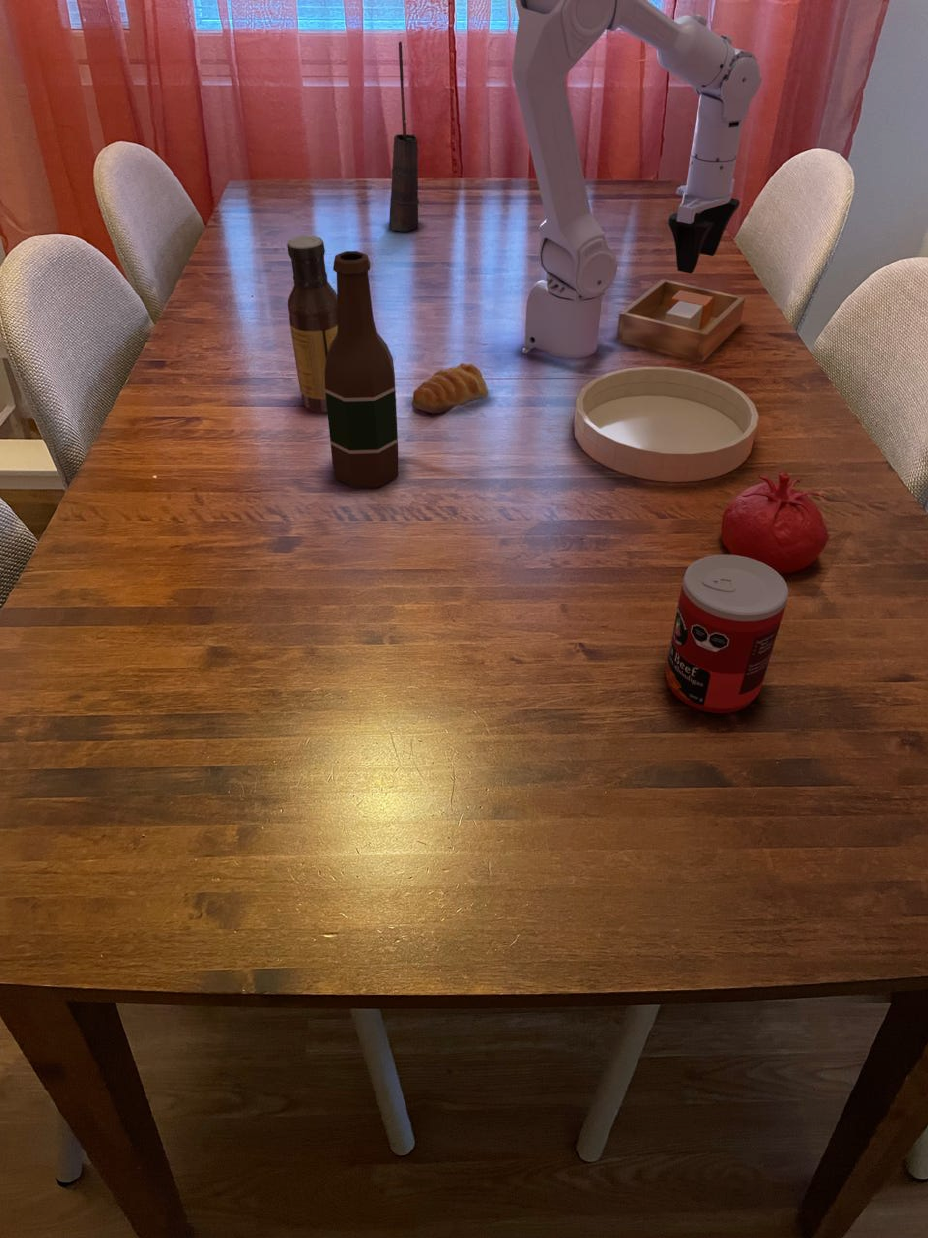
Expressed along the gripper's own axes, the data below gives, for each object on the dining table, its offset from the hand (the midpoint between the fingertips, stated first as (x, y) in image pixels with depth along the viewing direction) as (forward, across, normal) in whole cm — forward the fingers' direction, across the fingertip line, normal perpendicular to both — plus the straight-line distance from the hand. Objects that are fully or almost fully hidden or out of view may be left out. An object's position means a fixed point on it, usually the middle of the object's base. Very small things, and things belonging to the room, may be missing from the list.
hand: (696, 262), depth 130 cm
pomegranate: (+9, +47, +28) cm, 55 cm away
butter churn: (+9, -11, -57) cm, 59 cm away
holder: (+9, +3, 0) cm, 9 cm away
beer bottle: (+9, +56, -15) cm, 59 cm away
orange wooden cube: (+8, 0, 0) cm, 8 cm away
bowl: (+9, +32, +10) cm, 35 cm away
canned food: (+9, +67, +30) cm, 74 cm away
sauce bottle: (+9, +46, -29) cm, 55 cm away
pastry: (+9, +37, -16) cm, 41 cm away
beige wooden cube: (+8, +4, +1) cm, 9 cm away
